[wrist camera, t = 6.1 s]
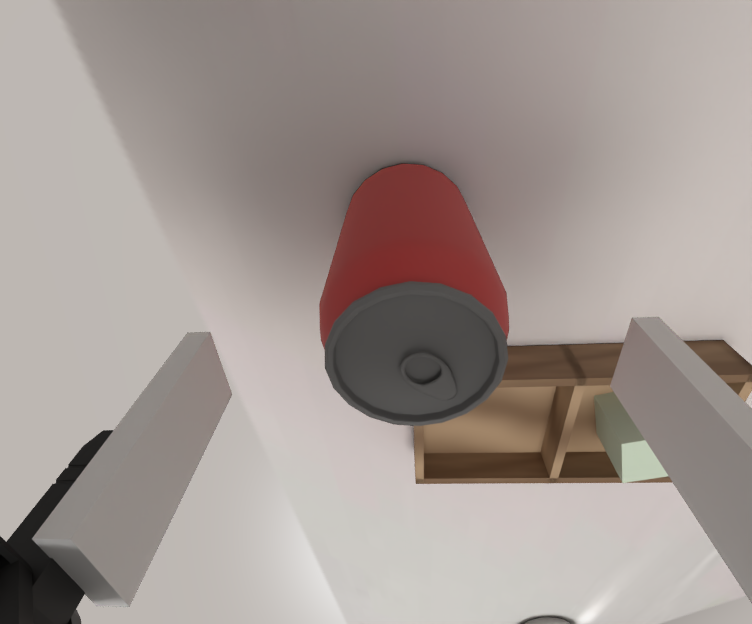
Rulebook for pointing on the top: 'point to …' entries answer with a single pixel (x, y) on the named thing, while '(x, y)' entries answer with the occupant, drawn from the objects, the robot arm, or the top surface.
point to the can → (547, 621)
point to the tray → (545, 418)
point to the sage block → (624, 441)
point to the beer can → (413, 302)
